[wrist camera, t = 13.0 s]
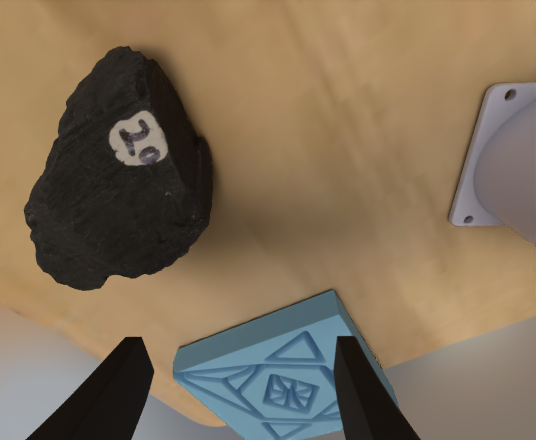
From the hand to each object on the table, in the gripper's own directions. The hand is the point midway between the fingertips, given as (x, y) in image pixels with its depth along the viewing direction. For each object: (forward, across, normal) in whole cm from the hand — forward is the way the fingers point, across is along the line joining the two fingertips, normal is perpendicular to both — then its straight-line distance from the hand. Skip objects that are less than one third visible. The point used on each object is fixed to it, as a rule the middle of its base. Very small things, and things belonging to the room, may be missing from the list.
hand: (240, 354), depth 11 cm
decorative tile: (+14, +1, +14) cm, 19 cm away
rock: (+10, +6, -4) cm, 12 cm away
